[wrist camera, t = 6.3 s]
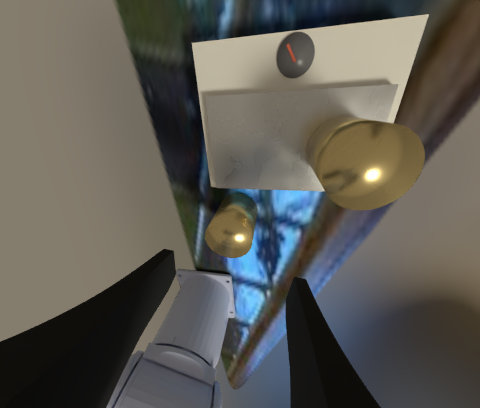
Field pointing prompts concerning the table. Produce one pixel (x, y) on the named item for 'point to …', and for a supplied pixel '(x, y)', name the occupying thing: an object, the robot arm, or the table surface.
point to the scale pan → (282, 132)
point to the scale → (308, 62)
